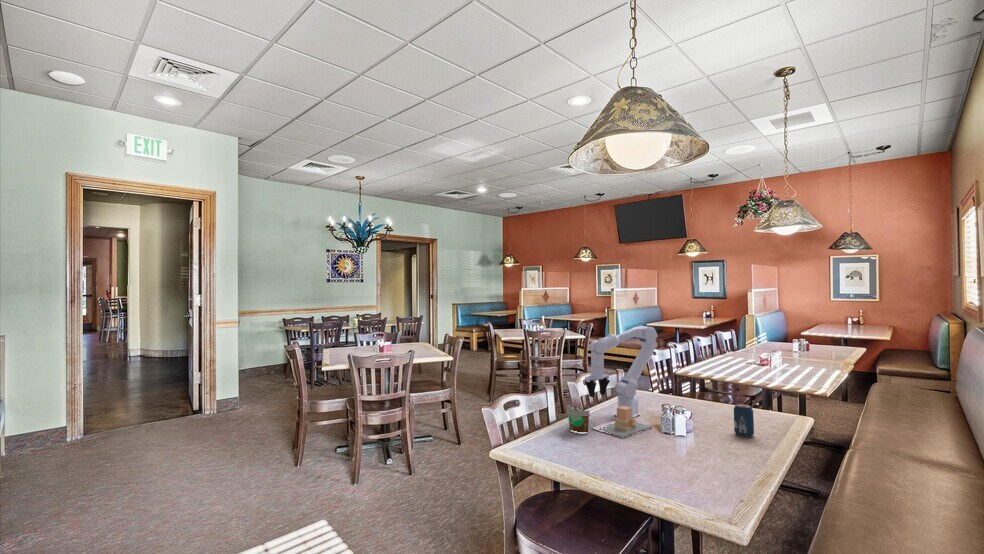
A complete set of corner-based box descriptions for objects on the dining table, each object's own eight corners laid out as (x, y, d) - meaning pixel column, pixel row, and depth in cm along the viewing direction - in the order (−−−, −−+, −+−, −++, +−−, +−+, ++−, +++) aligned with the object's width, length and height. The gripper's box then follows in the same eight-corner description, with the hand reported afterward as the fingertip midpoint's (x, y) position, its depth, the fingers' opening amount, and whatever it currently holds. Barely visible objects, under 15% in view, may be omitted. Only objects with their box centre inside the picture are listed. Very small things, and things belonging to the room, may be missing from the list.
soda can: (749, 432, 182) (748, 403, 182) (757, 438, 175) (756, 407, 175) (731, 432, 182) (730, 403, 183) (739, 438, 175) (738, 407, 176)
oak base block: (623, 424, 192) (623, 415, 193) (635, 428, 188) (635, 418, 188) (615, 427, 189) (614, 418, 189) (627, 431, 184) (626, 421, 184)
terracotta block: (622, 416, 192) (622, 405, 192) (632, 418, 188) (631, 407, 189) (616, 418, 189) (616, 407, 189) (626, 420, 185) (626, 409, 186)
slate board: (620, 419, 202) (620, 418, 202) (651, 428, 189) (651, 426, 189) (591, 429, 190) (591, 427, 190) (622, 438, 177) (622, 436, 177)
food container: (561, 428, 191) (560, 405, 191) (572, 426, 194) (572, 403, 194) (578, 437, 180) (577, 412, 180) (590, 435, 183) (589, 410, 183)
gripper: (600, 363, 214) (600, 392, 213) (580, 366, 205) (580, 396, 205) (612, 365, 208) (612, 395, 208) (592, 368, 199) (592, 399, 199)
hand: (597, 395), depth 206 cm, fingers open, 7 cm apart
